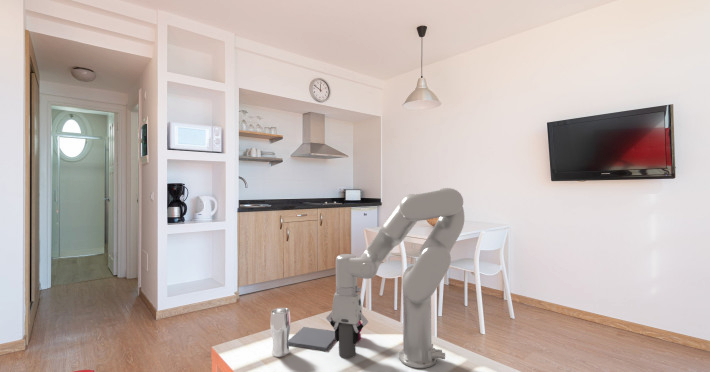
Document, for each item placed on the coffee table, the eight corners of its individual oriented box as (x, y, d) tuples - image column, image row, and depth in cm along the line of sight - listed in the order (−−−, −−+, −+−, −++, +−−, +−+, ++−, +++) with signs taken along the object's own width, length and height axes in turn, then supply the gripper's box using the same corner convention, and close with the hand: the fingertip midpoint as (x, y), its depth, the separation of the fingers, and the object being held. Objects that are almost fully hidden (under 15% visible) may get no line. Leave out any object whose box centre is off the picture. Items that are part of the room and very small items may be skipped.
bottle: (359, 354, 120) (358, 311, 120) (347, 360, 115) (346, 316, 115) (347, 348, 124) (346, 307, 124) (335, 354, 119) (335, 312, 119)
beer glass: (294, 351, 122) (294, 309, 122) (280, 359, 116) (280, 316, 116) (280, 346, 126) (280, 306, 126) (266, 354, 120) (266, 312, 120)
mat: (340, 334, 135) (340, 331, 135) (326, 351, 122) (326, 347, 122) (303, 329, 140) (303, 326, 140) (286, 344, 127) (286, 341, 127)
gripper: (373, 289, 120) (373, 339, 120) (328, 285, 126) (328, 333, 126) (367, 295, 113) (367, 349, 113) (319, 291, 119) (320, 342, 119)
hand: (347, 340), depth 120 cm, fingers closed on bottle, 5 cm apart
